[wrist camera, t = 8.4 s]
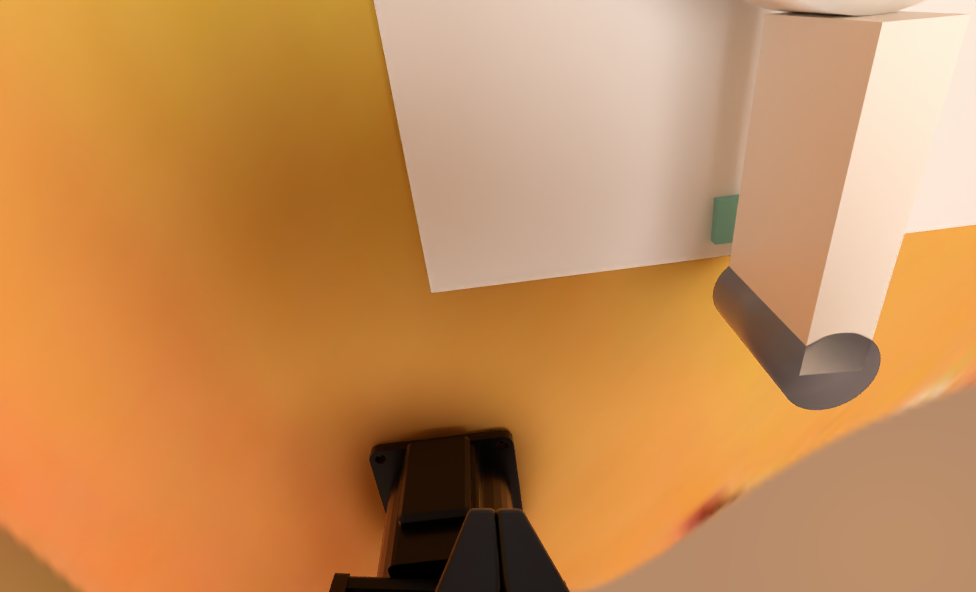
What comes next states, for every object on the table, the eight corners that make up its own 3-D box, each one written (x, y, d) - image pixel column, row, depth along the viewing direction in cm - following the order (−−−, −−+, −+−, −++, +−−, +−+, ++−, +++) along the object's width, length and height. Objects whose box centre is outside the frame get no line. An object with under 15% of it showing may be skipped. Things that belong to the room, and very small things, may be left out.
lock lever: (703, -310, 11) (834, -475, 7) (1002, -339, 11) (1300, -523, 7) (655, 328, 18) (706, 419, 14) (835, 312, 18) (936, 399, 14)
